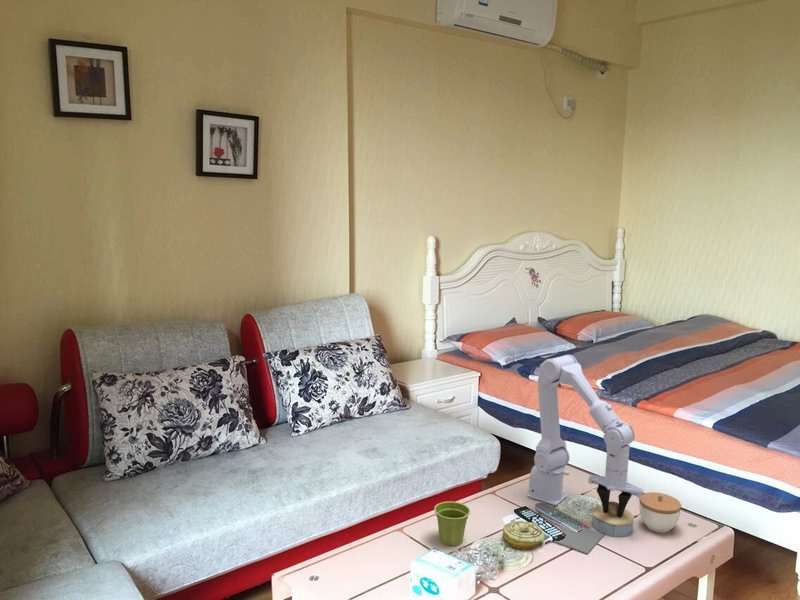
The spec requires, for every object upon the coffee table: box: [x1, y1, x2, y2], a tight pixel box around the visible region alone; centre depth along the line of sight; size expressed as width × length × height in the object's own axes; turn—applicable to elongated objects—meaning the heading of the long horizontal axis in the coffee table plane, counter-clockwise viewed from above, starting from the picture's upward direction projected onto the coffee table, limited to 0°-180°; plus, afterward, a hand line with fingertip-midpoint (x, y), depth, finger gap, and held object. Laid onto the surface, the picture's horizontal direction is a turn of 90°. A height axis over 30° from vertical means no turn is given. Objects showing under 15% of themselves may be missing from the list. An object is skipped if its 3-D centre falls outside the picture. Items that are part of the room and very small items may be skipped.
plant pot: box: [433, 501, 471, 546], centre depth 172 cm, size 9×9×9 cm
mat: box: [553, 524, 605, 555], centre depth 175 cm, size 12×12×1 cm
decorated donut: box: [502, 520, 546, 550], centre depth 173 cm, size 10×11×4 cm
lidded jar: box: [638, 491, 682, 534], centre depth 180 cm, size 11×11×9 cm
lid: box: [591, 500, 635, 526], centre depth 180 cm, size 11×11×4 cm
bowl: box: [591, 515, 634, 537], centre depth 180 cm, size 10×10×3 cm
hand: (613, 513), depth 180 cm, fingers open, 3 cm apart
